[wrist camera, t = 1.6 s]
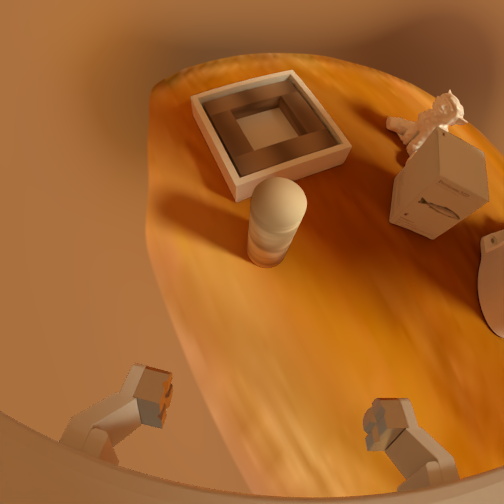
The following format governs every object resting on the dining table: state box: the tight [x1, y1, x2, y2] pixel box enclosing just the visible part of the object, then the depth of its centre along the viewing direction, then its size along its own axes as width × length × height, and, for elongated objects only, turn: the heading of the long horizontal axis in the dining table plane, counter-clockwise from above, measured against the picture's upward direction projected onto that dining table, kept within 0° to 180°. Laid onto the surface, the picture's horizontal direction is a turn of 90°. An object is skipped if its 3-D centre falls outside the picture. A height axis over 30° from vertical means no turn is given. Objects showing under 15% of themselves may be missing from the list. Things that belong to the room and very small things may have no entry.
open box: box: [190, 70, 352, 203], centre depth 39 cm, size 16×16×4 cm
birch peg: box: [247, 177, 307, 268], centre depth 30 cm, size 4×4×12 cm
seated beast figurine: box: [386, 90, 468, 164], centre depth 37 cm, size 10×9×12 cm
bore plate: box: [203, 80, 337, 178], centre depth 39 cm, size 13×13×2 cm
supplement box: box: [389, 126, 489, 240], centre depth 33 cm, size 7×7×13 cm
